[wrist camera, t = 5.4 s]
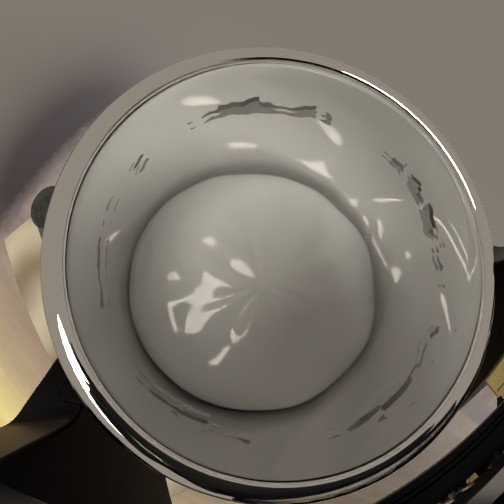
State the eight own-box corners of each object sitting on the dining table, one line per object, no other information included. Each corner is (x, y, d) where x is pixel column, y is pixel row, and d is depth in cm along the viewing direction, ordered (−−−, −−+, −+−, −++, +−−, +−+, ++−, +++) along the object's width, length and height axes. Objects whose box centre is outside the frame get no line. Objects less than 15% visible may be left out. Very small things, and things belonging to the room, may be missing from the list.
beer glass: (276, 377, 17) (467, 484, 3) (162, 354, 16) (-6, 434, 2) (295, 267, 19) (477, 122, 4) (187, 243, 18) (147, 19, 4)
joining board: (277, 436, 20) (280, 441, 19) (158, 496, 17) (156, 503, 16) (110, 170, 23) (107, 164, 22) (10, 242, 20) (3, 239, 19)
